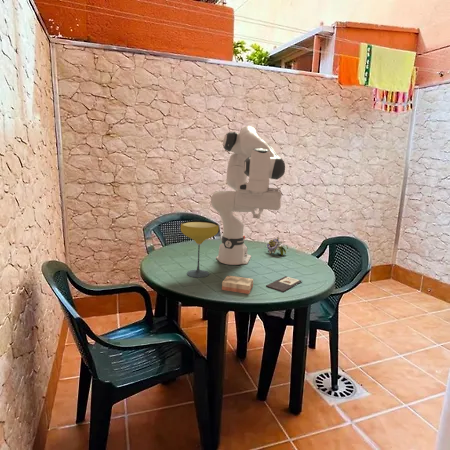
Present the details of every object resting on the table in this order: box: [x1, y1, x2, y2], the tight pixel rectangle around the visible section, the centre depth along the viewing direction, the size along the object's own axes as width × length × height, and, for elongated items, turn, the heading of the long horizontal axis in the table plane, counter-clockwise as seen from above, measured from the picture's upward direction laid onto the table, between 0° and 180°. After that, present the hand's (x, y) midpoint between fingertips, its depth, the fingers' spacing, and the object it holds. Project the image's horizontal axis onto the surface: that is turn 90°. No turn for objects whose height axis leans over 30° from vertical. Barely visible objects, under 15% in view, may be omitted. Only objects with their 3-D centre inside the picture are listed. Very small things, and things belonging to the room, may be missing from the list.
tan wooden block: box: [221, 275, 254, 295], centre depth 152 cm, size 9×4×12 cm
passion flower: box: [264, 237, 289, 256], centre depth 210 cm, size 11×11×12 cm
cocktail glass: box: [180, 219, 220, 279], centre depth 166 cm, size 18×18×25 cm
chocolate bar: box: [265, 276, 302, 293], centre depth 160 cm, size 9×1×18 cm
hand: (256, 218), depth 151 cm, fingers closed
